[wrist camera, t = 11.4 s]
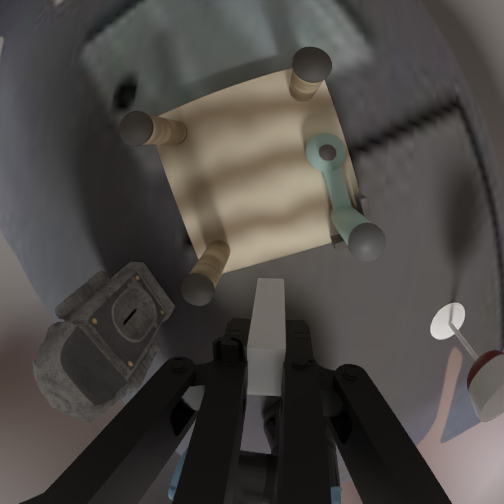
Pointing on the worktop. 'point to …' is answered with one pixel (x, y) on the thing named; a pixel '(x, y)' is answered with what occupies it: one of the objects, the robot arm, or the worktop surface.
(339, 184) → the folding leg
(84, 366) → the figurine
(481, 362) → the wineglass
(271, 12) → the worktop surface
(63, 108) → the worktop surface
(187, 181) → the stool
